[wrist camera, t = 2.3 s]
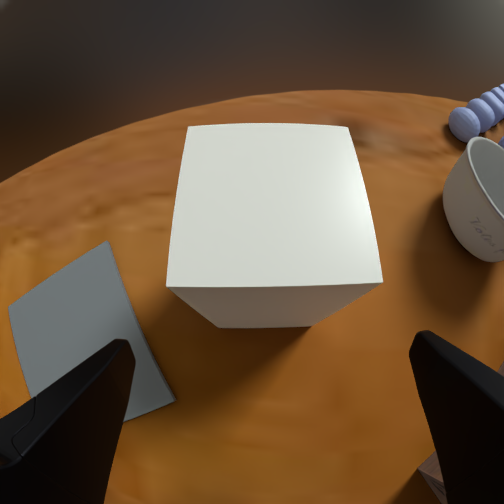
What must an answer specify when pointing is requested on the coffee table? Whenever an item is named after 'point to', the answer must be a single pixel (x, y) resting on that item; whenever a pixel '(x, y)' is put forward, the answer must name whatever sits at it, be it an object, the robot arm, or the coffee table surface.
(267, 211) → the tall white pillar
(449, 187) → the teacup
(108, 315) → the mat
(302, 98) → the coffee table surface
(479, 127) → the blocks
